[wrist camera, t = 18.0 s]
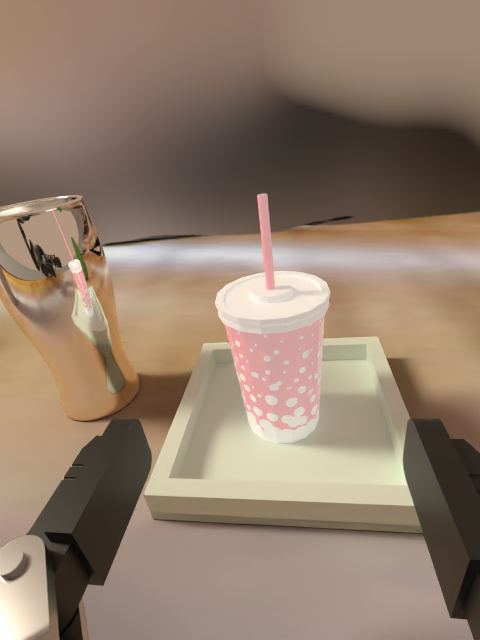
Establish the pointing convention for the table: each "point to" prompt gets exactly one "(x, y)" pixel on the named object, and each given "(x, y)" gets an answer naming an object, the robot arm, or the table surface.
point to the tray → (290, 450)
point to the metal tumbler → (66, 302)
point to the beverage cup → (276, 343)
